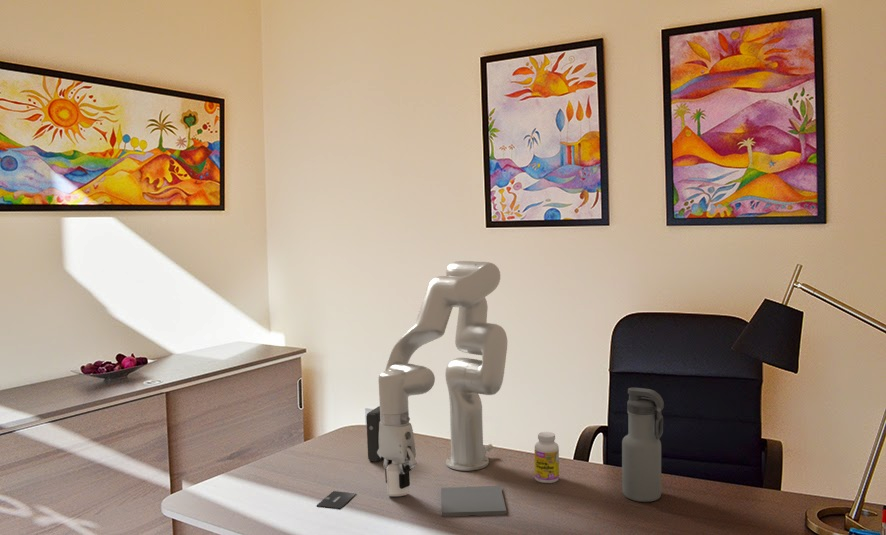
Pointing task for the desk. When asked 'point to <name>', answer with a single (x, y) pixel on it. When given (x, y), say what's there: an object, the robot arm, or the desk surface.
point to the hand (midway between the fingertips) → (397, 483)
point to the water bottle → (642, 446)
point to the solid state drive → (336, 500)
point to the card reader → (373, 434)
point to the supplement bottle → (546, 458)
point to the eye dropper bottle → (395, 480)
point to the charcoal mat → (472, 501)
